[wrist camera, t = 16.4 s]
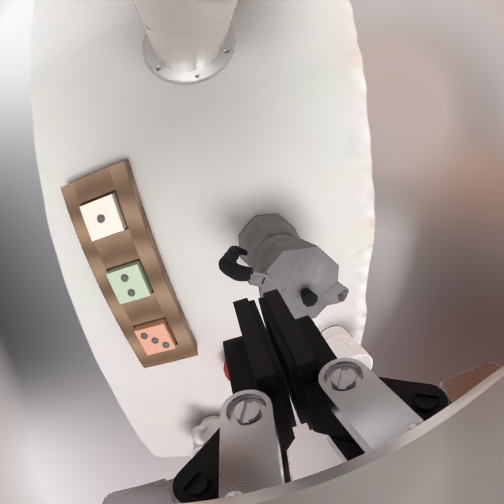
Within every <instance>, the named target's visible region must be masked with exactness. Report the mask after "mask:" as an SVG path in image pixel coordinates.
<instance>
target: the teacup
mask: <svg viewBox="0 0 504 504" xmlns="http://www.w3.org/2000/svg"><path fill="white" fill-rule="evenodd" d="M219 427H220V416H209V417H206V418H204V419H203V420H202V422H201V424H200V425H199V426H195V427H194V428H193V429H192V438H193V440H194V447H193V451H192V452H191V454H190V460H191V459H192V458H193V457H194V456H195V454H196V453H197V452H198V451H199V450H200V449H201V448H202V447H203V446H204V444H205V443H206V442H207V441H208V440H209V439H210V438H211V437H212V435H213V434H214V433H215V432H216V431H217V430H218V429H219Z"/></svg>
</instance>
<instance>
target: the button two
mask: <svg viewBox="0 0 504 504" xmlns="http://www.w3.org/2000/svg"><path fill="white" fill-rule="evenodd" d="M106 276H107V278H108V280H109V282H110V284H111V286H112V289H113V291H114V293H115V295H116V297H117V299H118V301H119V303H120V304H124V303H127V302H130V301H134V300H137V299H141V298H144V297H148V296H151V292H152V286H151V284H150V282H149V279H148V277H147V274H146V272H145V270H144V267H143V265H142V262H141V260H140V258H139V259H136V260H133V261H130V262H127V263H124V264H121V265H117V266H114V267H111V268H110V269H109V270H108V272H107V274H106Z"/></svg>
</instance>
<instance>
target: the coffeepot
mask: <svg viewBox="0 0 504 504" xmlns="http://www.w3.org/2000/svg"><path fill="white" fill-rule="evenodd" d="M239 255H240V257H241V259H242V260H244V261H245V262H246V263H247V264H248V265H249V266H250V267H246V266H242V265H239V264H238V263H236V262H237V259H238V258H239ZM219 268H220V270H221V271H222V272H223V273H224V274H226V275H227V276H229V277H230V278H232V279H234V280H237V281H248V282H249V284H250V285H255V286H259V292H260V298H262V297H263V293H265V292H268V291H271V290H274V289H278V291H279V293H280V294H281V296H282V298H283V300H284V301H285V303H286V305H287V306H288V308H289V310H290V312H291V313H292V315H293V317H294V318H295V319H297V318H300V317H303V316H306V315H309V316H310V318H311V319H312V318H316V317H317V315H318V314H319V313H320V312H321V311H322V310H323V309H324V308H325V307H326V306H327V305H331V304H336V303H339V302H343V301H344V300H345V298H346V297H347V294H348V292H349V290H348V289H347V288H346V287H345V286H343V285H342V284H340V283H339V282H338V269H339V265H338V264H337V263H335V262H334V261H333V260H332V259H331V258H330V257H329V256H328V255H327V254H326V253H325V252H324V251H322V250H321V249H320V248H319V247H318V246H316V245H314V244H311V243H309V242H307V241H305V240H302V239H300V238H299V236H298V234H297V232H296V230H295V228H294V227H293V226H292V225H290V224H289V223H288V222H287V221H286V220H285V219H284V218H282V217H281V216H280V215H279V214H270V215H262V216H254V217H253V219H252V220H251V221H250V222H249V223H248V224H247V225H246V226H245V228H244V229H243V230H242V232H241V233H240V234H239V247H238V246H232V247H230V248H229V249H228V251H227V252H226V253H225V254H224V256H223V257H222V258H221V259H220V261H219Z"/></svg>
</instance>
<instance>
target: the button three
mask: <svg viewBox="0 0 504 504" xmlns="http://www.w3.org/2000/svg"><path fill="white" fill-rule="evenodd" d="M134 332H135V334H136V336H137V338H138V339H139V341H140V343H141V345H142V347H143V348H144V350H145V352H146V354H147V355H151V354H155V353H160V352H164V351H168V350H172V349H175V348H176V339H175V337H174V334H173V332H172V330H171V328H170V326H169V324H168V322H167V320H166V318H165V317H163V318H160V319H156V320H152V321H149V322H145V323H141V324H137V325H136V326H135V330H134Z"/></svg>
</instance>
